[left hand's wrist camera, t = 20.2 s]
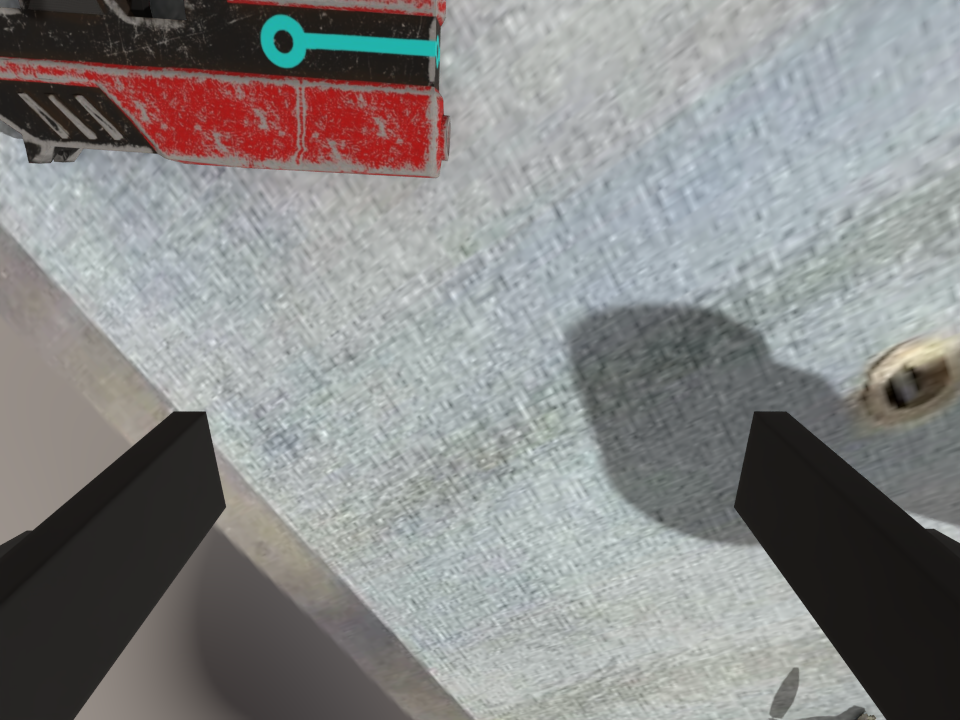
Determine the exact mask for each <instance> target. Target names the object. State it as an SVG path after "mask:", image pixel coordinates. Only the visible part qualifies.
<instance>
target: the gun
mask: <svg viewBox="0 0 960 720" xmlns="http://www.w3.org/2000/svg"><path fill="white" fill-rule="evenodd" d="M19 4H20V7H21V9H18V8H3V7H0V120H2V121H3V122H5V123H6V124H8V125H9V126H11V127H12V128H13V129H15V130H16V131H18V132H19V133H21V134H22V136H23V140H24V144H25V148H26V152H27V157H28V161H29V163H39V164H41V163H51V162H52V160H53V159H54V162H74V161H75V160H76V158H77V157H78V156H79V154H80V153H81V151H82V150H83V149H98V150H113V151H127V152H141V153H155V154H159V155H161V156H162V157H164V158H166V159H169V160H173V161H177V162H180V163H184V164H198V165H213V166H228V167H242V168H258V169H277V170H296V171H314V172H332V173H350V174H369V175H387V176H405V177H423V178H438V177H439V174H440V167H441V161H442V160H445V161H448V157H449V147H450V116H445V115H444V111H443V98H442V96H441V95H440V93H439V69H440V33H441V25H442V24H443V22H444V20H445V18H446V0H184V5H185V12H186V20H173V19H158V18H152V14H151V11H150V3H149V0H19Z"/></svg>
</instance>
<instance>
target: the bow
mask: <svg viewBox="0 0 960 720" xmlns="http://www.w3.org/2000/svg"><path fill="white" fill-rule="evenodd" d="M875 719H876V717H875V716H874V715H873V716H871V715H870V716H868V715H867V714H865V715H864V714H862V716H860V717H859V718H858V719H857V720H875Z"/></svg>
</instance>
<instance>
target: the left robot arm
mask: <svg viewBox="0 0 960 720" xmlns="http://www.w3.org/2000/svg"><path fill="white" fill-rule="evenodd" d="M225 508H226V505H225V500H224V495H223V490H222V486H221V481H220V476H219V471H218V467H217V462H216V457H215V453H214V448H213V443H212V438H211V434H210V429H209V424H208V420H207V415H206V412H173V413H171V414H170V415H169V416H168V417H167V418H166V419H164V420H163V421H162V422H161V423H160V424H158V425H157V426H156V427H155V428H154V429H153V430H151V431H150V432H149V433H148V434H147V435H145V436H144V437H143V438H142V439H141V440H140V441H138V442H137V443H136V444H135V445H134V446H132V447H131V448H130V449H129V450H128V451H126V452H125V453H124V454H123V455H122V456H121V457H119V458H118V459H117V460H116V461H115V462H114V463H112V464H111V465H110V466H109V467H108V468H106V469H105V470H104V471H103V472H102V473H100V474H99V475H98V476H97V477H96V478H94V479H93V480H92V481H91V482H90V483H89V484H87V485H86V486H85V487H84V488H83V489H81V490H80V491H79V492H78V493H77V494H76V495H74V496H73V497H72V498H71V499H70V500H68V501H67V502H66V503H65V504H64V505H63V506H61V507H60V508H59V509H58V510H57V511H55V512H54V513H53V514H52V515H51V516H50V517H48V518H47V519H46V520H45V521H44V522H42V523H41V524H40V525H39V526H38V527H36V528H35V529H34V530H33V531H25V532H24V533H22V534H20V535H18V536H16V537H15V538H13V539H11V540H9V541H7V542H6V543H4V544H2V545H0V720H74V718H75V717H76V715H77V714H78V713H79V711H80V710H81V708H82V707H83V706H84V704H85V703H86V702H87V700H88V699H89V697H90V696H91V695H92V693H93V692H94V690H95V689H96V688H97V686H98V685H99V683H100V682H101V681H102V679H103V678H104V676H105V675H106V674H107V672H108V671H109V669H110V668H111V667H112V665H113V664H114V663H115V661H116V660H117V658H118V657H119V656H120V654H121V653H122V651H123V650H124V649H125V647H126V646H127V644H128V643H129V642H130V640H131V639H132V637H133V636H134V635H135V633H136V632H137V630H138V629H139V628H140V626H141V625H142V624H143V622H144V621H145V619H146V618H147V617H148V615H149V614H150V612H151V611H152V609H153V608H154V607H155V605H156V604H157V603H158V601H159V600H160V598H161V597H162V596H163V594H164V593H165V591H166V590H167V589H168V587H169V586H170V584H171V583H172V582H173V580H174V579H175V578H176V576H177V575H178V573H179V572H180V571H181V569H182V568H183V566H184V565H185V564H186V562H187V561H188V559H189V558H190V557H191V555H192V554H193V552H194V551H195V550H196V548H197V547H198V545H199V544H200V543H201V541H202V540H203V538H204V537H205V536H206V534H207V533H208V531H209V530H210V529H211V527H212V526H213V525H214V523H215V522H216V520H217V519H218V518H219V516H220V515H221V513H222V512H223V511H224V509H225ZM734 508H735V509H736V511H737V512H738V513H739V515H740V516H741V518H742V519H743V520H744V522H745V523H746V525H747V526H748V527H749V529H750V530H751V532H752V533H753V534H754V536H755V537H756V538H757V540H758V541H759V543H760V544H761V545H762V547H763V548H764V550H765V551H766V552H767V554H768V555H769V557H770V558H771V559H772V561H773V562H774V564H775V565H776V566H777V568H778V569H779V571H780V572H781V573H782V575H783V576H784V578H785V579H786V580H787V582H788V583H789V584H790V586H791V587H792V589H793V590H794V591H795V593H796V594H797V596H798V597H799V598H800V600H801V601H802V603H803V604H804V605H805V607H806V608H807V610H808V611H809V612H810V614H811V615H812V617H813V618H814V619H815V621H816V622H817V624H818V625H819V626H820V628H821V629H822V630H823V632H824V633H825V635H826V636H827V637H828V639H829V640H830V642H831V643H832V644H833V646H834V647H835V649H836V650H837V651H838V653H839V654H840V656H841V657H842V658H843V660H844V661H845V663H846V664H847V665H848V667H849V668H850V670H851V671H852V672H853V674H854V675H855V676H856V678H857V679H858V681H859V682H860V683H861V685H862V686H863V688H864V689H865V690H866V692H867V693H868V695H869V696H870V697H871V699H872V700H873V702H874V703H875V704H876V706H877V707H878V709H879V710H880V711H881V713H882V714H883V716H884V717H885V718H886V720H960V543H959V542H957V541H955V540H953V539H951V538H949V537H948V536H946V535H944V534H942V533H940V532H939V531H937V530H935V529H925V528H924V527H922V526H921V525H920V524H919V523H918V522H916V521H915V520H914V519H913V518H912V517H911V516H909V515H908V514H907V513H906V512H905V511H903V510H902V509H901V508H900V507H899V506H897V505H896V504H895V503H894V502H893V501H892V500H890V499H889V498H888V497H887V496H886V495H884V494H883V493H882V492H881V491H880V490H879V489H877V488H876V487H875V486H874V485H873V484H871V483H870V482H869V481H868V480H867V479H866V478H864V477H863V476H862V475H861V474H860V473H858V472H857V471H856V470H855V469H854V468H852V467H851V466H850V465H849V464H848V463H847V462H845V461H844V460H843V459H842V458H841V457H839V456H838V455H837V454H836V453H835V452H834V451H832V450H831V449H830V448H829V447H828V446H826V445H825V444H824V443H823V442H822V441H820V440H819V439H818V438H817V437H816V436H815V435H813V434H812V433H811V432H810V431H809V430H807V429H806V428H805V427H804V426H803V425H802V424H800V423H799V422H798V421H797V420H796V419H794V418H793V417H792V416H791V415H790V414H789V413H787V412H754V415H753V420H752V424H751V429H750V434H749V438H748V443H747V448H746V453H745V457H744V462H743V467H742V471H741V476H740V481H739V486H738V490H737V495H736V500H735V505H734Z"/></svg>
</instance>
